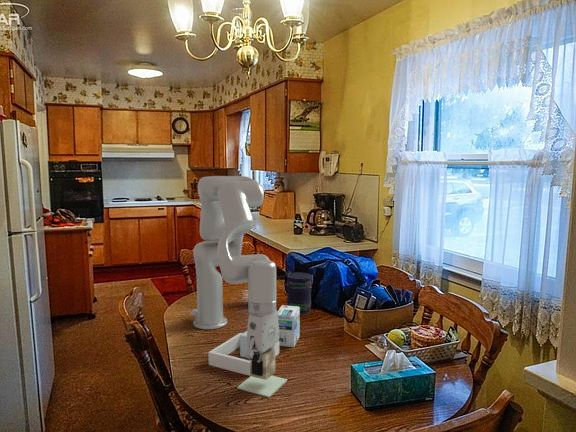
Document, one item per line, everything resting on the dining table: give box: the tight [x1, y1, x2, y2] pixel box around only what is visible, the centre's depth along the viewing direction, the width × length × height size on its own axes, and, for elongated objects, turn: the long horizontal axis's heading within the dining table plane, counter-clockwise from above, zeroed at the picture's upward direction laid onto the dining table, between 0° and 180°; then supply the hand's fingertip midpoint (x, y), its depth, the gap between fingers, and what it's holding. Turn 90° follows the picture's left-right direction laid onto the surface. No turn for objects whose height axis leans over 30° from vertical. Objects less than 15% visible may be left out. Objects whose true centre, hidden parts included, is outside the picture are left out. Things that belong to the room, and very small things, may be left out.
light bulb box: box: [277, 304, 301, 348], centre depth 151 cm, size 11×7×11 cm, turn 168°
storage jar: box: [286, 271, 312, 316], centre depth 181 cm, size 10×10×15 cm
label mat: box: [236, 375, 288, 398], centre depth 122 cm, size 10×10×1 cm
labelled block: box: [249, 347, 276, 380], centre depth 121 cm, size 5×5×7 cm
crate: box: [207, 332, 280, 377], centre depth 137 cm, size 15×17×4 cm
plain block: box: [239, 330, 256, 360], centre depth 140 cm, size 5×5×7 cm
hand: (262, 369), depth 121 cm, fingers closed on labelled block, 5 cm apart
